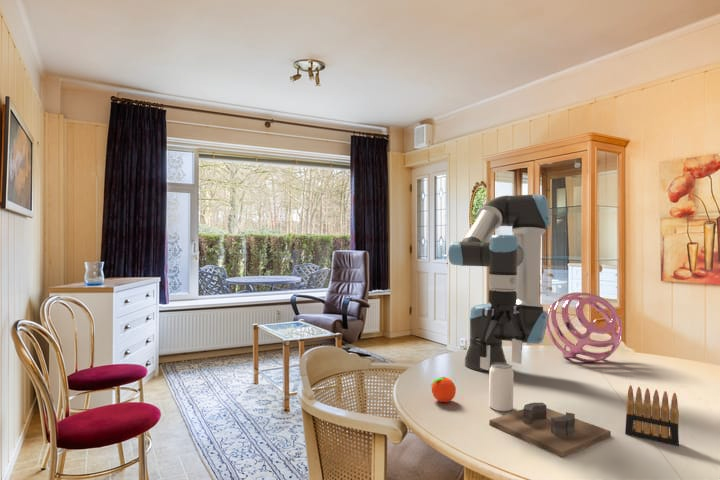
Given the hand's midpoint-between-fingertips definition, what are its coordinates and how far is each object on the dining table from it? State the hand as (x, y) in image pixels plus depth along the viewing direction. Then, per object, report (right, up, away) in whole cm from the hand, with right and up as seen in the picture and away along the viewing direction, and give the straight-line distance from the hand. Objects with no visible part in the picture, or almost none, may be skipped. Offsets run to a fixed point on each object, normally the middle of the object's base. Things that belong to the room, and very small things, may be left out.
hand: (501, 365), depth 124 cm
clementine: (-16, -12, +4) cm, 20 cm away
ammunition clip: (+30, -13, -18) cm, 37 cm away
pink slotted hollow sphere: (+50, -13, +53) cm, 74 cm away
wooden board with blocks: (+7, -12, -14) cm, 20 cm away
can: (0, -12, 0) cm, 12 cm away
